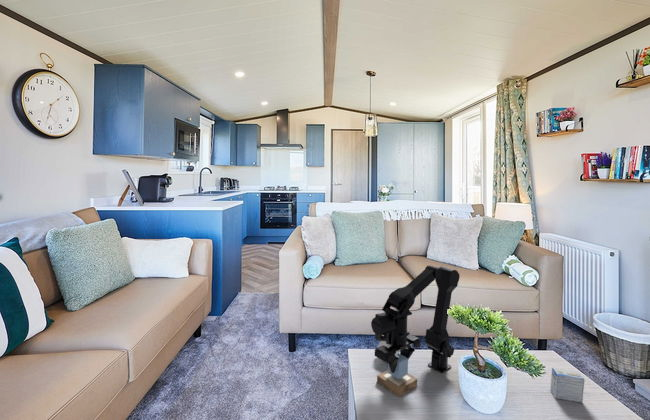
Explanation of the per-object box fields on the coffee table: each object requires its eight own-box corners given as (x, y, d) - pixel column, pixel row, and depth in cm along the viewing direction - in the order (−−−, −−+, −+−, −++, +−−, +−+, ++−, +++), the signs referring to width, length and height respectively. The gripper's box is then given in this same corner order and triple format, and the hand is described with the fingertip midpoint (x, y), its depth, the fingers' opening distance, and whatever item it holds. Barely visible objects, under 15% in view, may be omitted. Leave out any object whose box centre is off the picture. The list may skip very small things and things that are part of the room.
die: (394, 369, 123) (406, 345, 126) (374, 356, 125) (386, 333, 127) (389, 364, 132) (401, 342, 134) (371, 352, 133) (382, 331, 135)
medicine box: (576, 395, 108) (578, 371, 107) (582, 403, 104) (585, 378, 103) (549, 390, 110) (551, 367, 110) (555, 398, 106) (556, 374, 105)
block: (396, 367, 116) (397, 352, 116) (407, 374, 112) (408, 358, 112) (387, 372, 113) (388, 356, 113) (398, 379, 109) (399, 363, 109)
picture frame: (395, 372, 120) (395, 365, 120) (417, 385, 112) (417, 378, 112) (377, 381, 114) (377, 375, 114) (398, 396, 106) (399, 389, 106)
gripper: (398, 313, 124) (396, 351, 125) (363, 326, 112) (363, 368, 114) (422, 324, 115) (420, 364, 116) (387, 339, 103) (386, 384, 105)
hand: (397, 369), depth 113 cm, fingers closed on block, 5 cm apart
